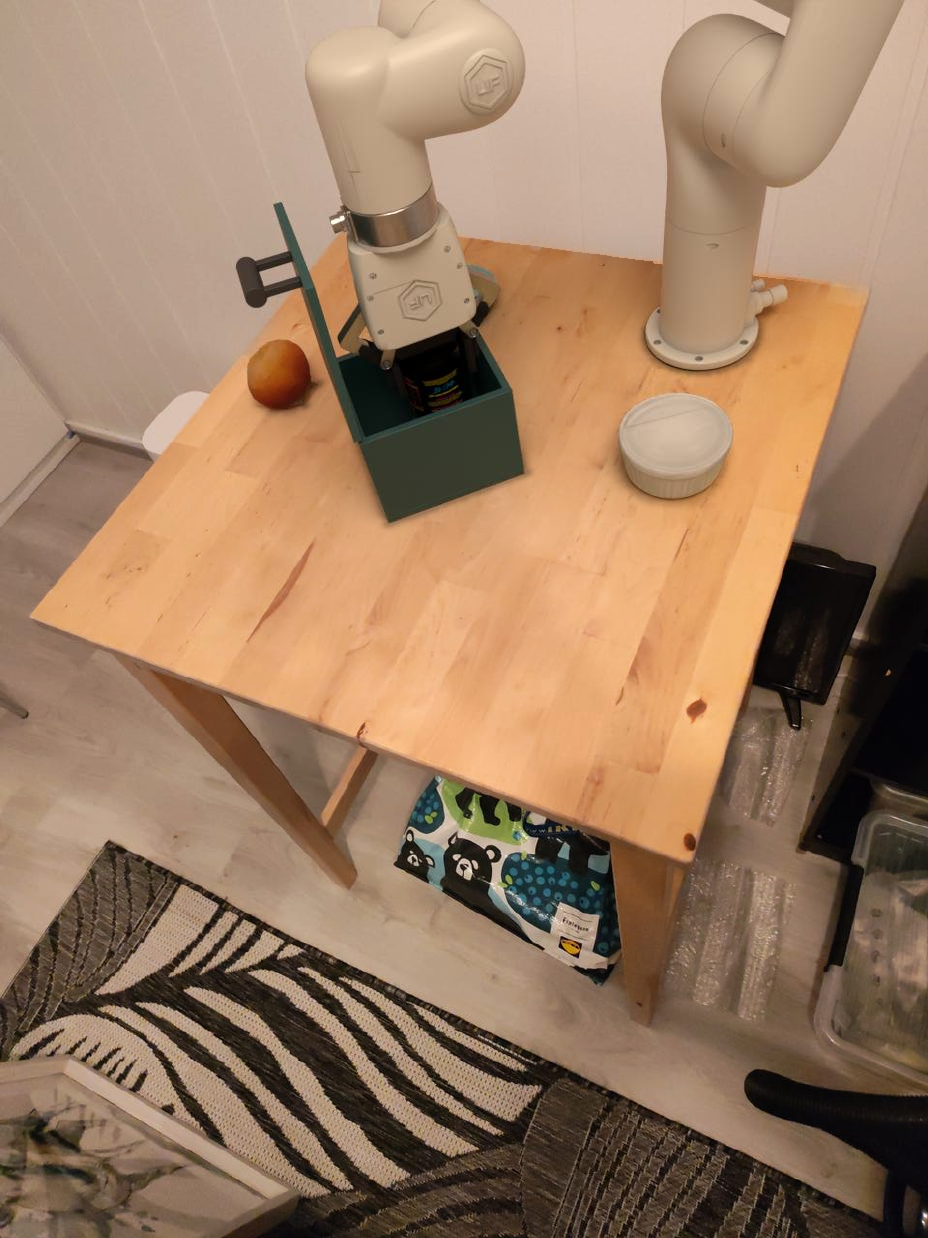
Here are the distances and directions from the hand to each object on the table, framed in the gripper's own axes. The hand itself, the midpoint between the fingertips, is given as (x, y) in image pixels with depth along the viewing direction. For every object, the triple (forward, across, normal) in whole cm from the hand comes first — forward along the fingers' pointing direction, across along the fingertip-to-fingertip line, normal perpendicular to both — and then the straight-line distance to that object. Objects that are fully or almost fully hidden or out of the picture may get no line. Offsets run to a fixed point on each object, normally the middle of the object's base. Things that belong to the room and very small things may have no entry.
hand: (435, 375), depth 81 cm
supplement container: (+6, 0, 0) cm, 6 cm away
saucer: (+11, +8, +24) cm, 28 cm away
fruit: (+11, -16, +19) cm, 27 cm away
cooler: (+11, -2, 0) cm, 11 cm away
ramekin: (+11, +20, -13) cm, 26 cm away
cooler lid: (-10, -9, 0) cm, 13 cm away
